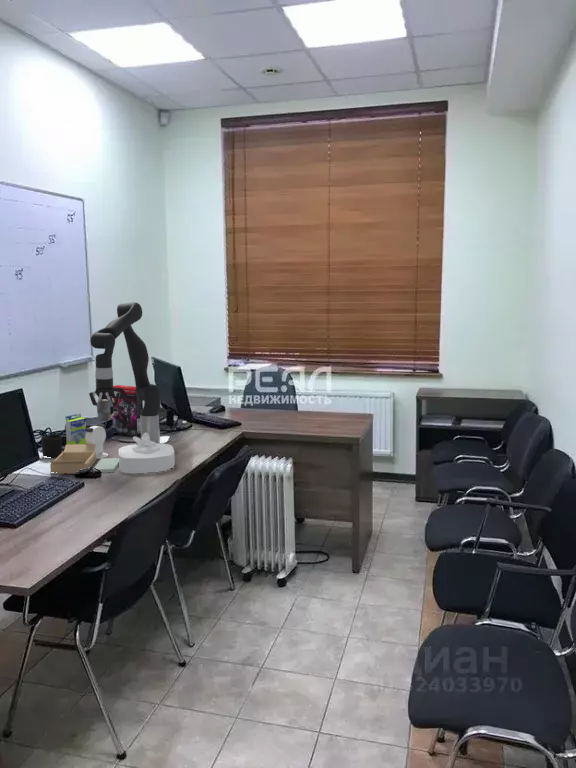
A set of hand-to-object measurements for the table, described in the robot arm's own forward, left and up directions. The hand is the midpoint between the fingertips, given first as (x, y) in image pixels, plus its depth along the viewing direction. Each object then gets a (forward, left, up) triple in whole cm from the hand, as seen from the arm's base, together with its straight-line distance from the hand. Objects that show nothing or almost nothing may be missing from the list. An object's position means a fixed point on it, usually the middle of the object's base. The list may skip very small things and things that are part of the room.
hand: (105, 414), depth 286 cm
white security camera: (+9, -19, -25) cm, 33 cm away
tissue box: (-18, -1, -25) cm, 31 cm away
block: (0, 0, -2) cm, 2 cm away
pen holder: (+30, -19, -25) cm, 43 cm away
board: (0, 0, -25) cm, 25 cm away
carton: (+15, 0, -25) cm, 29 cm away
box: (+22, -34, -25) cm, 48 cm away
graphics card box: (+1, -63, -25) cm, 68 cm away
